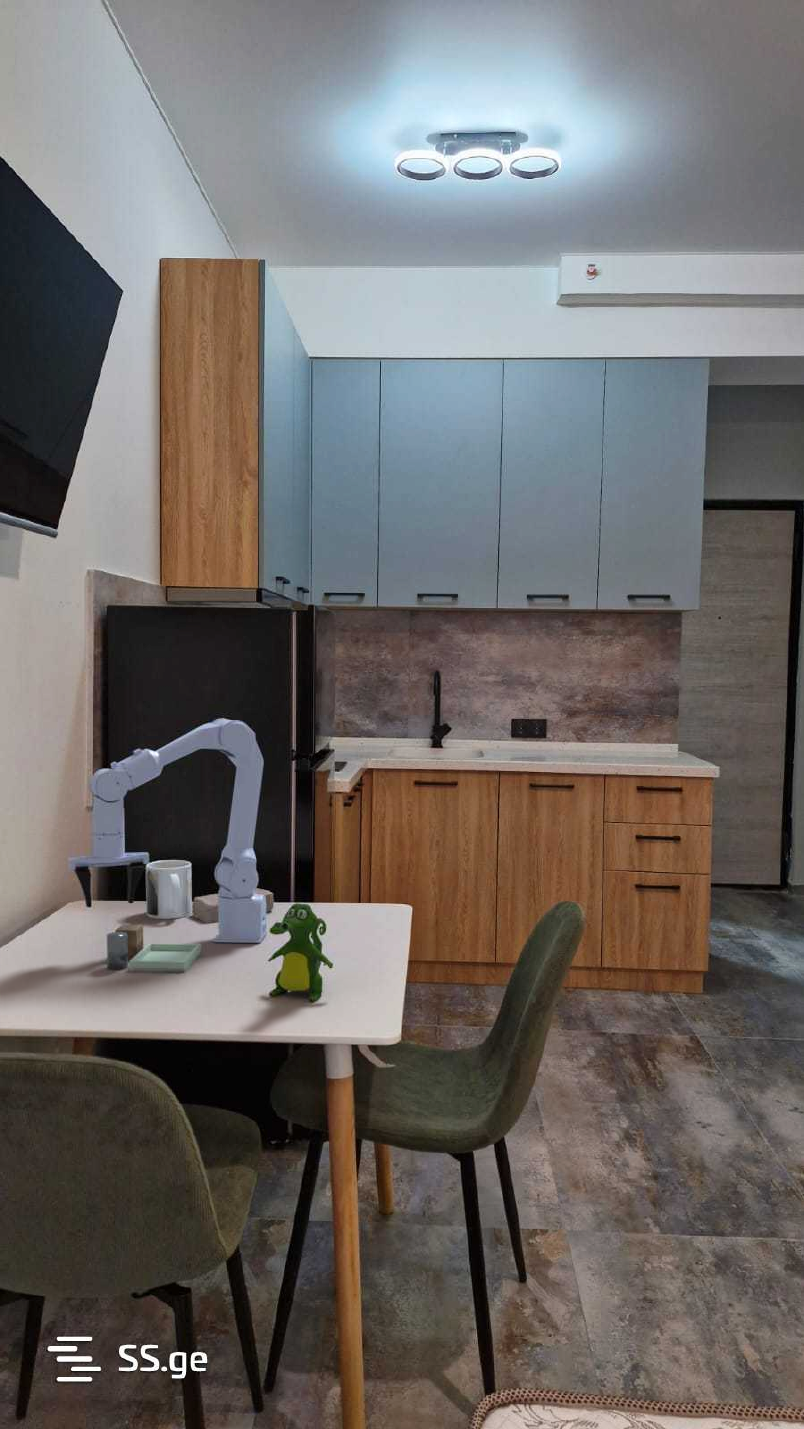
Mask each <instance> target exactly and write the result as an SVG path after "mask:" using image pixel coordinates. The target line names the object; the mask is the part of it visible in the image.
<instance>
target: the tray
mask: <svg viewBox="0 0 804 1429" xmlns="http://www.w3.org/2000/svg"><path fill="white" fill-rule="evenodd" d="M200 955H202V944H201V943H173V942H172V943H168V942H167V943H162V942H160V943H159V942H158V943H157V942H148V944H147V945H146V946H144V947H143V949H142V950H141V951H140V952H139V953H138V954H137V955H136V956H135V957H134V958H133V959H129V960H128V961H129V962H128V964H129V966H128V967H129V972H138V973H139V972H143V973H144V972H149V973H153V972H154V973H157V972H158V973H186V971H187V970H188V969H189V968H190V966H192V964H193V963H194V962H195V961H196V960H197V959H198V958H199V957H200Z"/></svg>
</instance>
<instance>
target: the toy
mask: <svg viewBox="0 0 804 1429" xmlns="http://www.w3.org/2000/svg"><path fill="white" fill-rule="evenodd" d="M324 920H325V919H322V918H320V917H319V918H318V917H317V914H315V913H314V912H313V910H312V908H311V906H310V905H309V904H306V903H299V902H298V903H294V904H293V905H291V906H290V908H288V910H287V912H286V913H285V914H284V917H283V918H282V920H281V922H278V921H277V922H275V923H274V924H273V925H272V926H271V928H269V934H272V935H275V936H277V935H283V934H285V933H286V932H288V933H289V936H290V938H289V940H288V941H286V943H285V944H283V945H282V946H281V947H280V948H279V949H278V950H277V951H275V952H274V953H272V955H271V956H270V957H269V959H268V960H267V961H268V962H271V961H273V960H276V959H277V958H279V957H280V956H283V959H282V964H281V968H280V969H281V970H279V971H278V972H277V974H276V977H275V982H274V984H275V988H274V989H272V990H270V991H269V993H268V995H269V996H270V997H276V996H277V995H279V994H282V993H283V992H285V991H289V992H294V993H300V992H306V991H310V992H311V993H310V996H309V997H308V1001H309V1002H315V1001H316V1000H317V999H318V998H319V997H320V996H321V995H322V994H323V977H322V975H321V974H320V972H319V970H320V967H321V965H322V963H323V966H326V965H327V967H328V968H329V970H331V969H332V968H334V967H333V966H334V964H333V962H331V961H330V960H329V959H328V957H327V956H326V955H325V954H323V953H322V952H323V951H322V949H323V943H322V941H321V939H320V936H321V937H322V936H323V935H325V933H326V932H327V924H326V923H327V922H325V921H324ZM320 925H321V926H320ZM318 933H319V935H320V936H319V935H318ZM311 939H312V940H311Z"/></svg>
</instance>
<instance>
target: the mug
mask: <svg viewBox="0 0 804 1429" xmlns="http://www.w3.org/2000/svg"><path fill="white" fill-rule="evenodd" d="M192 885H193V884H192V863H191V861H187V860H181V859H179V860H178V859H169V860H167V859H166V860H164V859H163V860H156V861H152V862H149V864H145V896H146V897H145V898H146V901H145V902H146V904H145V905H146V906H145V907H146V908H145V909H146V912H145V913H146V916H147V917H149V918H151V919H159V920H161V919H162V920H169V919H170V920H171V919H179V918H183V917H184V918H185V917H187V916H190V915H191V914H193V913H192V910H193V909H192V905H193V899H192V896H193V895H192V894H193V892H192V891H193V890H192V888H193V887H192Z"/></svg>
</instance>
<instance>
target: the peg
mask: <svg viewBox="0 0 804 1429" xmlns="http://www.w3.org/2000/svg"><path fill="white" fill-rule="evenodd" d="M128 961H129V959H128V942H127V933H125V932H115V931H114V932H109V933H107V934H106V966H107V967H106V969H107V970H109V971H119V970H125V969H127V968H128V967H129V966H128V964H129V962H128Z"/></svg>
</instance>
